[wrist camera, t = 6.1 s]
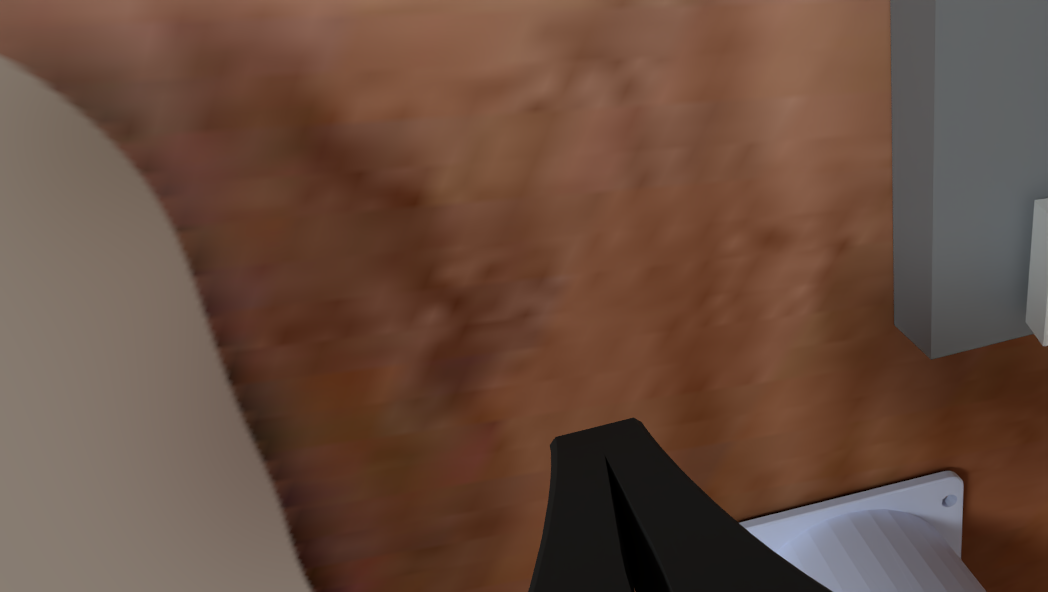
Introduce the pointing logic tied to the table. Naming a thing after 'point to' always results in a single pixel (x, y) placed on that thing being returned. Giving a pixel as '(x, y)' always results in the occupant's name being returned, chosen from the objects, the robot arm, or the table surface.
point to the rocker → (1039, 274)
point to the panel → (966, 166)
